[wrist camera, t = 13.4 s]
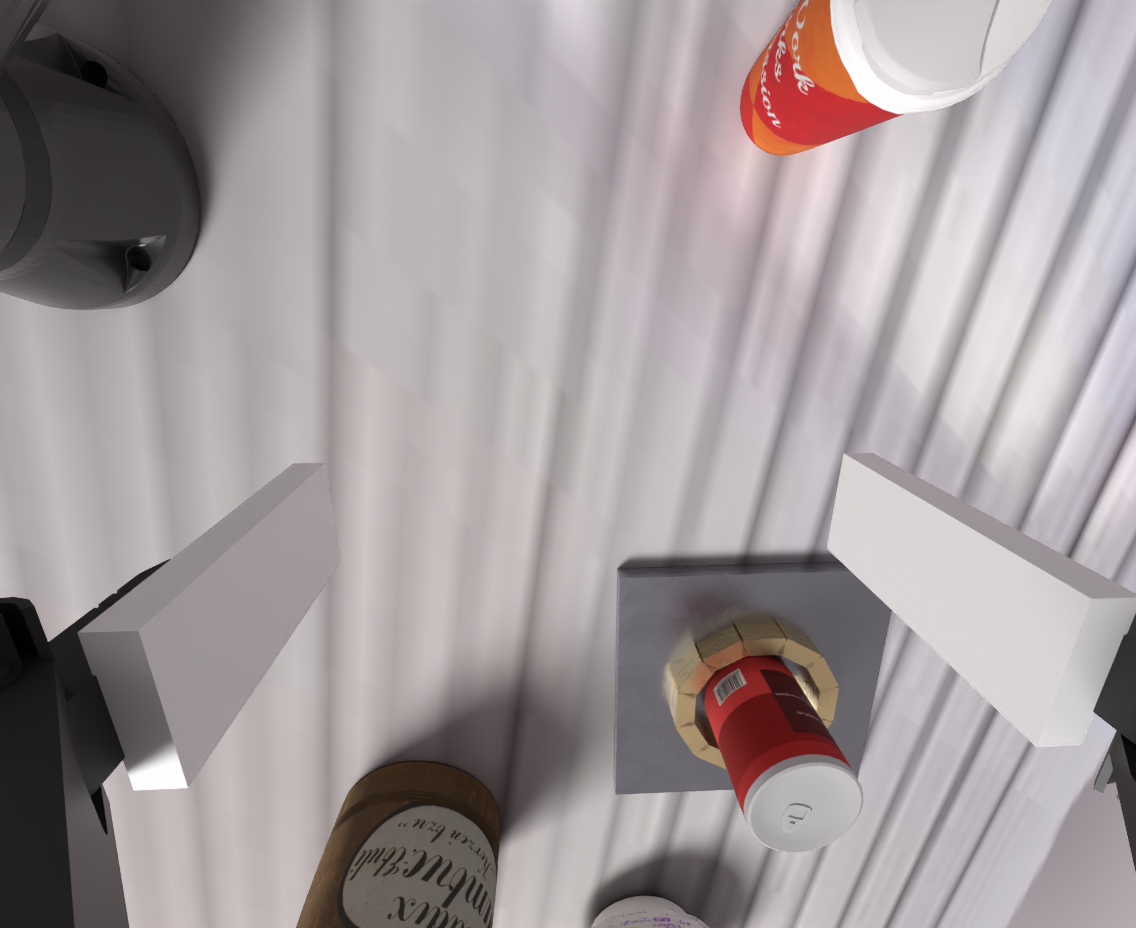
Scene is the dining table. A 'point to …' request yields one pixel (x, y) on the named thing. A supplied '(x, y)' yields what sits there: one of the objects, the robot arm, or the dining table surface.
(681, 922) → the paper bowls
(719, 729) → the canned food
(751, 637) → the collar plate
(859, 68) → the coffee cup
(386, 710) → the dining table surface
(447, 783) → the wooden container
